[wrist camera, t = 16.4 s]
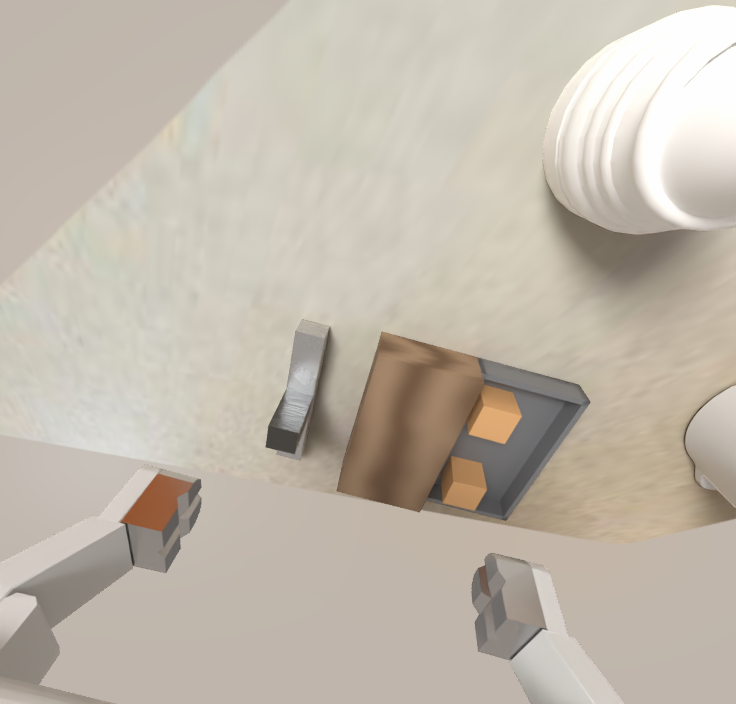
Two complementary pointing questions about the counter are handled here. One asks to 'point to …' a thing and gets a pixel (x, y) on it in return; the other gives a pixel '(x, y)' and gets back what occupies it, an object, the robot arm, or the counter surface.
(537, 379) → the tray
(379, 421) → the ledge
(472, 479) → the block
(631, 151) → the honey pot
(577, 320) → the counter surface
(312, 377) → the grey stick with cube
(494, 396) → the block
